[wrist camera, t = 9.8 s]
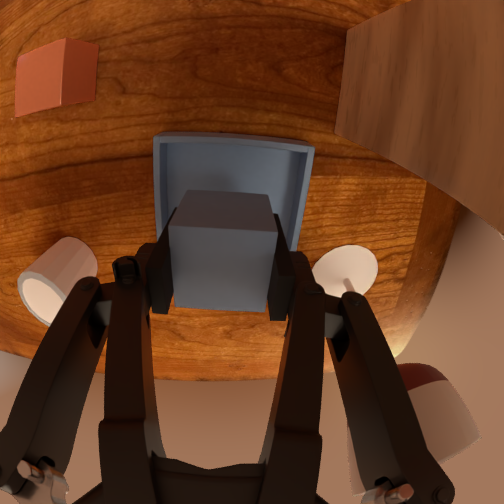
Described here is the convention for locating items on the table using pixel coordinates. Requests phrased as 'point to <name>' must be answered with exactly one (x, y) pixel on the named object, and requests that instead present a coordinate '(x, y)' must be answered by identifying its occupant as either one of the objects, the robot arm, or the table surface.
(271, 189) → the tray
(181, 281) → the slate block
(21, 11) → the table surface
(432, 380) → the wineglass
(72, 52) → the terracotta block
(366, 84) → the stand
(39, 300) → the shot glass
